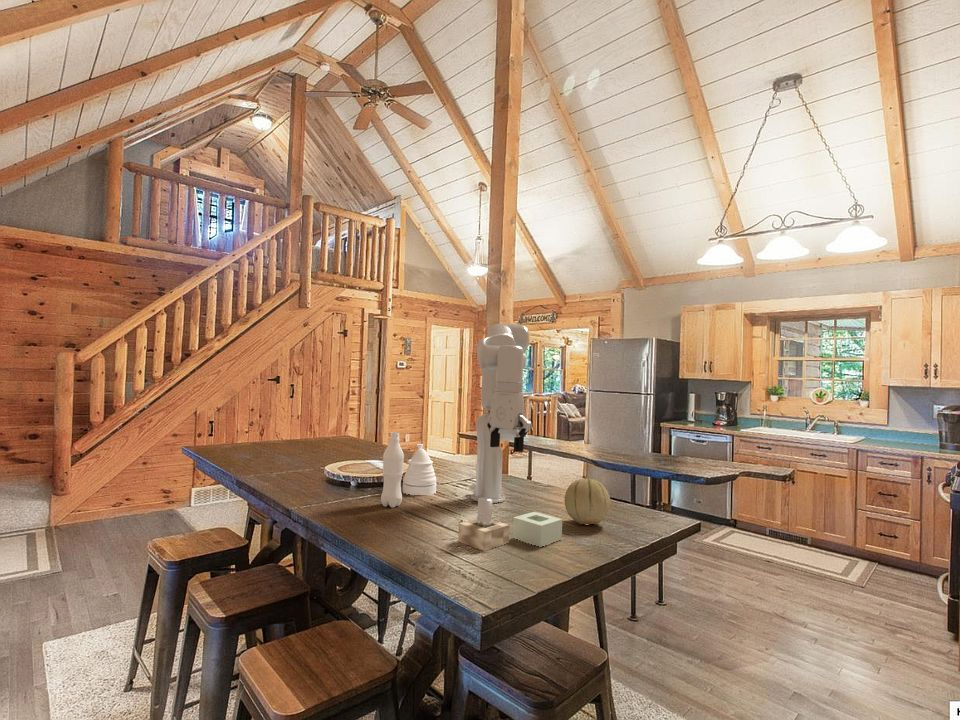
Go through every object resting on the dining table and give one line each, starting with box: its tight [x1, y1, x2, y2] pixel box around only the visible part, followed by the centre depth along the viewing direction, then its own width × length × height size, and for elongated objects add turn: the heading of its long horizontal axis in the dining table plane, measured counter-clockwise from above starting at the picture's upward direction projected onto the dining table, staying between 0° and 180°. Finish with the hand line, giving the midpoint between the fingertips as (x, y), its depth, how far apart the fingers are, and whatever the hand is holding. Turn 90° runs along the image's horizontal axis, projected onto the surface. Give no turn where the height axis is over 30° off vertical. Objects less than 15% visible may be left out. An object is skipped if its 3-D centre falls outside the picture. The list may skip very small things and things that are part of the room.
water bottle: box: [380, 431, 405, 508], centre depth 177 cm, size 7×7×25 cm
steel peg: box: [476, 497, 494, 528], centre depth 143 cm, size 4×4×12 cm
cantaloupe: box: [564, 475, 611, 525], centre depth 165 cm, size 15×15×15 cm
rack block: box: [512, 511, 563, 548], centre depth 147 cm, size 10×10×6 cm
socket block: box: [457, 518, 511, 552], centre depth 143 cm, size 10×10×5 cm
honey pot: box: [402, 443, 437, 496], centre depth 199 cm, size 13×13×18 cm
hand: (506, 449), depth 146 cm, fingers open, 9 cm apart
